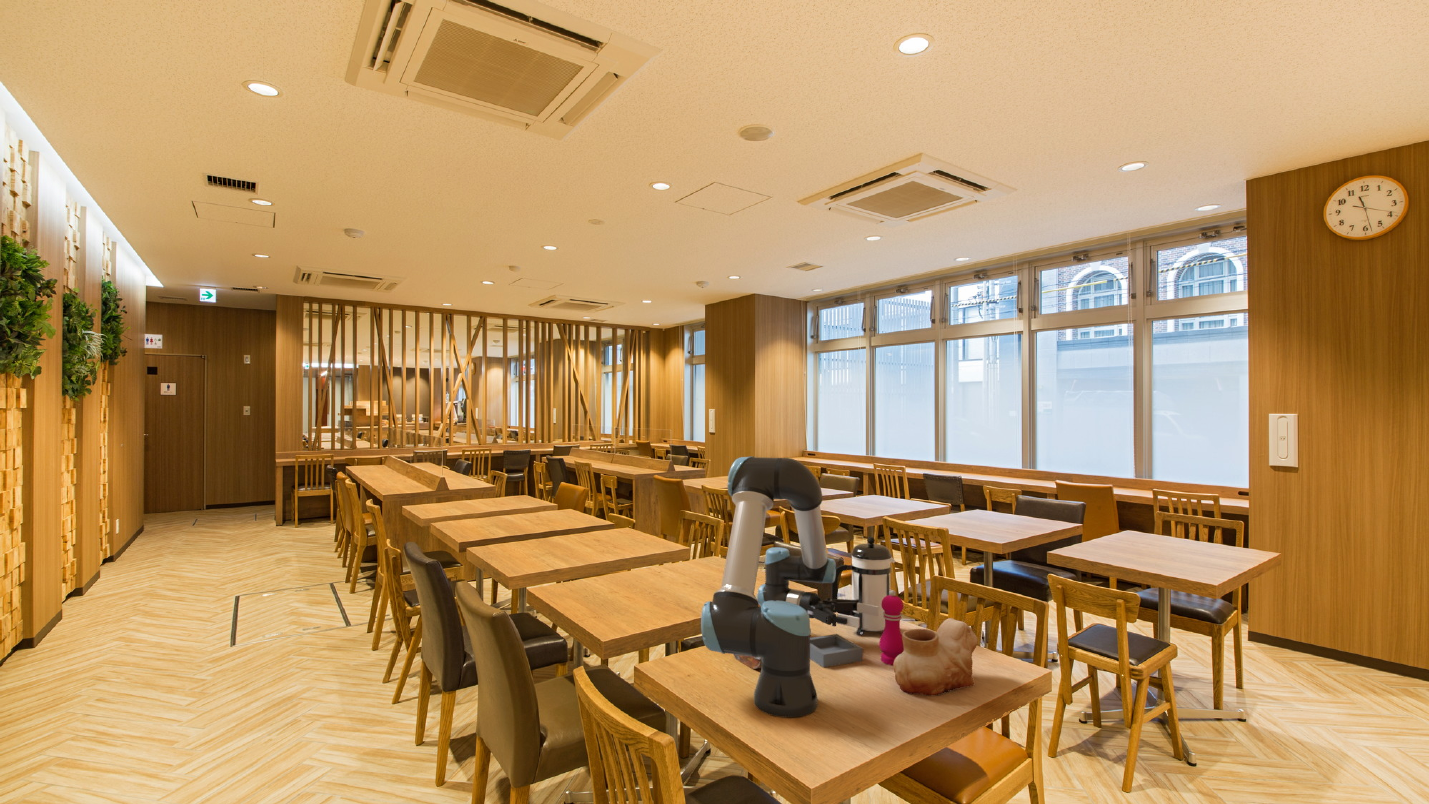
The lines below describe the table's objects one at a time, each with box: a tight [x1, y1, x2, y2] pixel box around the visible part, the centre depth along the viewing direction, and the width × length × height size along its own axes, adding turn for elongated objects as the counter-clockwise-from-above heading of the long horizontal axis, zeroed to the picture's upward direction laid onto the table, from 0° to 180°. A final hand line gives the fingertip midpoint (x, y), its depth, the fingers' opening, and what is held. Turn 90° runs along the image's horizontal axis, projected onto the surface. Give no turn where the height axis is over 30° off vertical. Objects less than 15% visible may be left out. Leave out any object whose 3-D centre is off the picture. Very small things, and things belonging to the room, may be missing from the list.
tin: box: [732, 654, 762, 670], centre depth 183 cm, size 15×3×8 cm, turn 31°
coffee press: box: [831, 536, 896, 637], centre depth 210 cm, size 17×16×30 cm
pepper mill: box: [878, 589, 904, 666], centre depth 185 cm, size 7×7×20 cm
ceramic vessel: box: [892, 617, 979, 697], centre depth 170 cm, size 14×26×15 cm, turn 119°
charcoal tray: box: [810, 633, 864, 668], centre depth 188 cm, size 13×13×4 cm
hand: (868, 617), depth 189 cm, fingers open, 13 cm apart
